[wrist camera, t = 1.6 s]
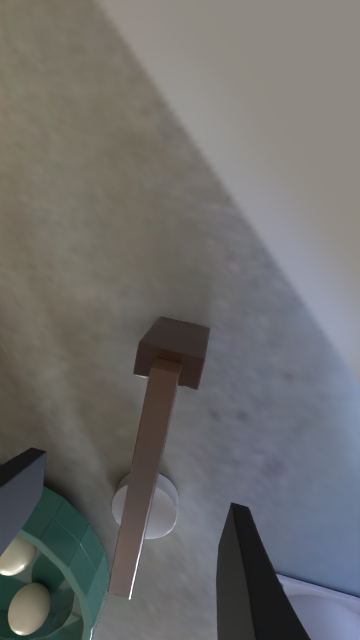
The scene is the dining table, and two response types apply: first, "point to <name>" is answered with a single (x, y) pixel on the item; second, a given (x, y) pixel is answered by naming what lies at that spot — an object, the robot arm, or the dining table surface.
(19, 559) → the ball
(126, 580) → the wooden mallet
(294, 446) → the dining table surface
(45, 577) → the bowl
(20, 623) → the ball
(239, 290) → the dining table surface
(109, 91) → the dining table surface
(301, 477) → the dining table surface
